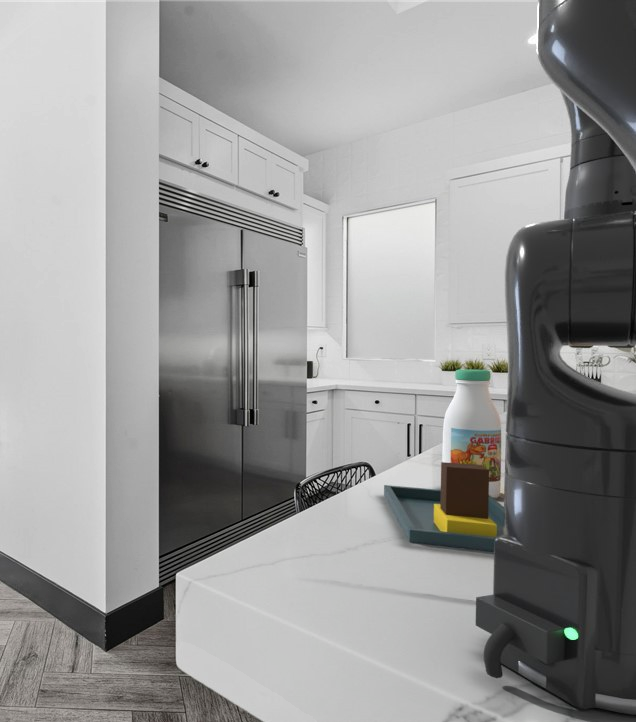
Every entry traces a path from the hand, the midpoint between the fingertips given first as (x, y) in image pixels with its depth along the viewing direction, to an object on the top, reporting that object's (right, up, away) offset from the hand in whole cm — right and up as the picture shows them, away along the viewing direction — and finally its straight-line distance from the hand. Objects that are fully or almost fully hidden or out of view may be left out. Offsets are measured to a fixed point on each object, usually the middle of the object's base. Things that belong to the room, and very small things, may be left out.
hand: (599, 347), depth 61 cm
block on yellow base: (-12, -23, +6) cm, 26 cm away
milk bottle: (+3, -23, +25) cm, 34 cm away
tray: (-10, -23, +10) cm, 27 cm away
